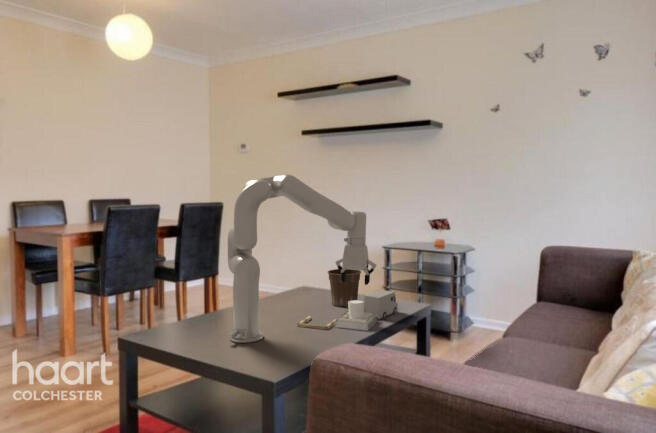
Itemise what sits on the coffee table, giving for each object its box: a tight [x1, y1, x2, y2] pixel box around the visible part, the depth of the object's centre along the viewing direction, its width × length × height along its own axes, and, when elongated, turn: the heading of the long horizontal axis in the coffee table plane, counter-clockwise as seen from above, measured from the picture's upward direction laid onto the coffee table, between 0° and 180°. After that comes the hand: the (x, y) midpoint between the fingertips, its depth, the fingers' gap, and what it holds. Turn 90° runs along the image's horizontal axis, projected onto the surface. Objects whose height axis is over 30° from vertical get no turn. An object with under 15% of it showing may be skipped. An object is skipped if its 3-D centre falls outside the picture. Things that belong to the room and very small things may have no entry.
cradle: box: [296, 315, 338, 331], centre depth 200 cm, size 12×13×1 cm
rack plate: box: [334, 310, 378, 332], centre depth 200 cm, size 14×14×4 cm
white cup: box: [347, 299, 365, 320], centre depth 199 cm, size 7×7×7 cm
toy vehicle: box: [363, 289, 399, 320], centre depth 214 cm, size 9×18×10 cm, turn 144°
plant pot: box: [327, 268, 362, 308], centre depth 233 cm, size 16×16×16 cm
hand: (355, 283), depth 198 cm, fingers open, 9 cm apart
